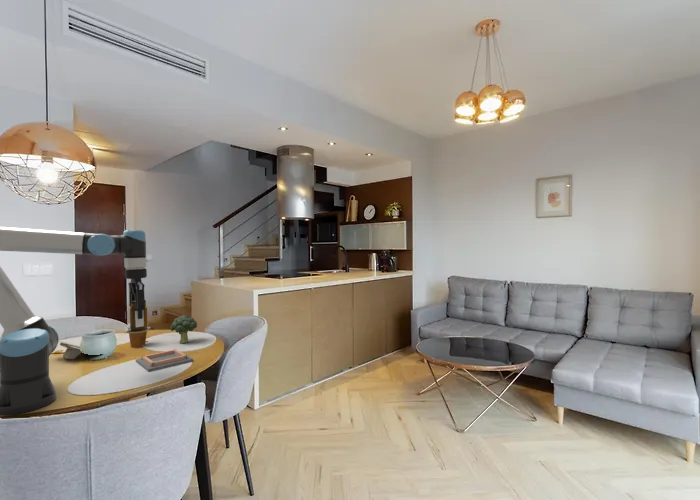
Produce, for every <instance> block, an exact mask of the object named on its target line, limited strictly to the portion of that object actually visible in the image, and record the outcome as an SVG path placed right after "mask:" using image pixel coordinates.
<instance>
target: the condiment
mask: <svg viewBox="0 0 700 500" xmlns="http://www.w3.org/2000/svg"><path fill="white" fill-rule="evenodd" d="M146 300H147V299H145V309H144V310H143V313H144V326H142V327H136V321H135V311H134V310H135V309H136V305H135V300H134V301H131V308H129V323H130V329H129V330H128V329H127V330H126V331H125V332H124V334H129V333H138V332H146V331H147V332H148V330H149V329H151V326H149V325H148V326H147V322H148V307H147V302H146Z"/></svg>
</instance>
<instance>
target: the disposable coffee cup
mask: <svg viewBox="0 0 700 500" xmlns="http://www.w3.org/2000/svg"><path fill="white" fill-rule="evenodd" d="M147 326H148V327H149V323H148V321H147ZM126 327H127V331H128V330H129V329H130V322H129V323H127V326H126ZM147 333H148V330H147V331H146V332H138V333H128V336H129V343H130V348H134V349H136V348H141V347H142V348H143V347H144V346H146V342H147V341H146V340H147Z"/></svg>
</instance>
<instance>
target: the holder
mask: <svg viewBox="0 0 700 500" xmlns="http://www.w3.org/2000/svg"><path fill="white" fill-rule="evenodd" d="M135 362H136V363H137V364H138V365H139V366H141V367H142V368H143V369H144V370H145V371H147V372H148V373H149V372H152V371H156V370H162V369H166V368H171V367H175V366H179V365H182V364H186V363H192V362H194V358H192V357H191V356H188V355H187V354H185V353H183V352H182V351H180V350H178V349H171V350H166V351H161V352H156V353H151V354H146V355H142V356H141V358H137V359H136V358H135Z"/></svg>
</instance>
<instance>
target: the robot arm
mask: <svg viewBox="0 0 700 500" xmlns="http://www.w3.org/2000/svg"><path fill="white" fill-rule="evenodd" d="M0 252H19V253H20V252H21V253H22V252H23V253H24V252H25V253H45V254H47V253H48V254H66V255H68V254H69V255H85V256H86V255H89V256H92V255H93V256H98V257H100V256H102V257H103V256H108V255H123V256H124V257H123V260H124V263H123V264H124V269H125V270H124V278H125V280H130V282H128V292H129V295H128V296H129V297H128V298H129V299H128V306H129V307H130V308H131V301H134V300H135V305H136V309H135V310H134V311H135V321H136V327H142V326H144V313H143V310H144V309H145V300H146V299H145V286H146V285H145V284H144V282H143V281H142V279H146V278H147V277H148V275H147V273H148V271H147V268H146V267H147V262H149V261H148V259H147V240H146V233H145V231H144V230H140V229H138V230H137V229H131V230H130V229H126V230H124V231H123V234H119V235H115V234H114V235H113V234H112V235H111V234H110V235H109V234H106V233H89V232H76V231H65V230H64V231H63V230H49V229H34V228H20V227H10V226H9V227H7V226H0ZM130 308H129V309H130ZM0 326H1V327H2V329H3V332H2V334H1V338H0V416H13V415H19V414H23V413H27V412H28V413H29V412H31V411H35V410H37V409H41V408H44V407H45V406H47V405H50V404H51V403H53V402H54V401H55V400H56V398H57V390H56V388H55V386H54V384H53V382H52V379H51V377H50V356H51V354H53V352H54V351H55V350H56V349H57V348H58V347H57V346H58V344H59V342H58V341H59V333H58V332H57V330H56V329H55V328H53V327H52V326H51V325H49V324H48V322H46V320H45V319H44V318H43V316H39V315H36V314H34V313H33V311H32V310H31V308H30V307H29V305H28V304H27V303H26V301H25V300H24V298H23V297H22V295H21V294H20V293H19V291H18V289H17V288H16V287H15V285H14V284H13V283H12V280H10V278H9V277H8V275H7V274H6V272H5V271H4V269H3V267H1V266H0Z"/></svg>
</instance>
